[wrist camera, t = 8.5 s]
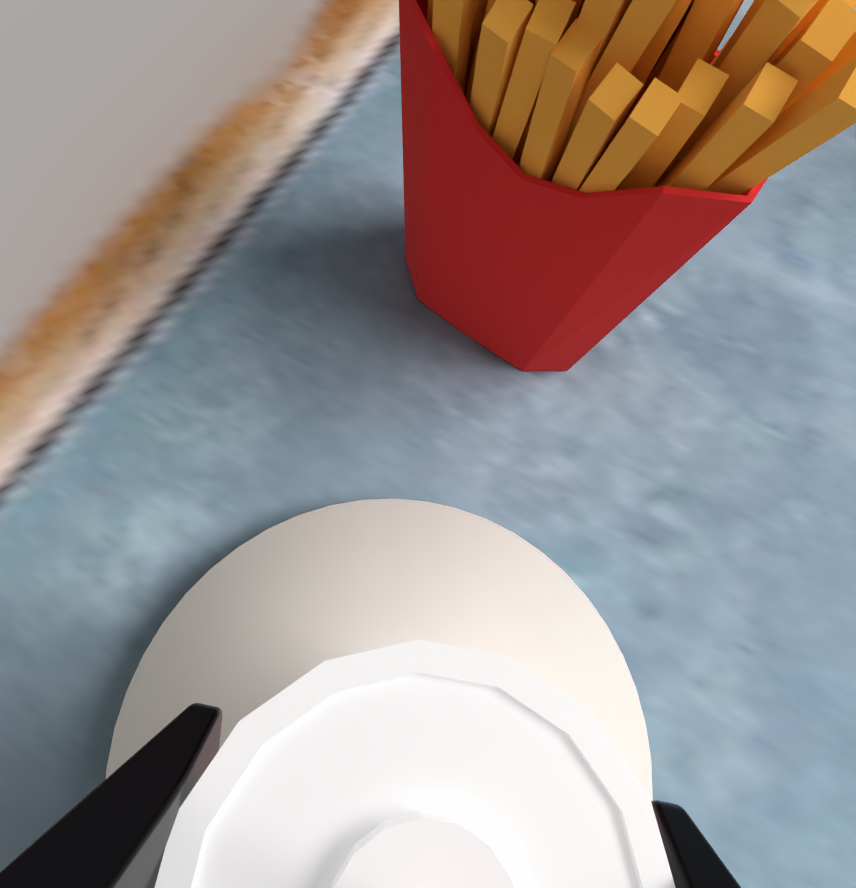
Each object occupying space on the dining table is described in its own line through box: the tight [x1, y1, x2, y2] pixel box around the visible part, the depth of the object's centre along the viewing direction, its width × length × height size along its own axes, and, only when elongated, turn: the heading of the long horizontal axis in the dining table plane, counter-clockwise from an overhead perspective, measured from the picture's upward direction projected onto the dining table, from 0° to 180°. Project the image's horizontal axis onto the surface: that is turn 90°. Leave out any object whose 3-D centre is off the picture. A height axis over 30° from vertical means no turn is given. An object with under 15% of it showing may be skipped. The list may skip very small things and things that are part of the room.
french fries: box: [399, 0, 856, 371], centre depth 17 cm, size 9×4×13 cm, turn 55°
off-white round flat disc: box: [106, 499, 653, 801], centre depth 17 cm, size 14×14×1 cm
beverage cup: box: [155, 640, 676, 888], centre depth 9 cm, size 6×6×14 cm
